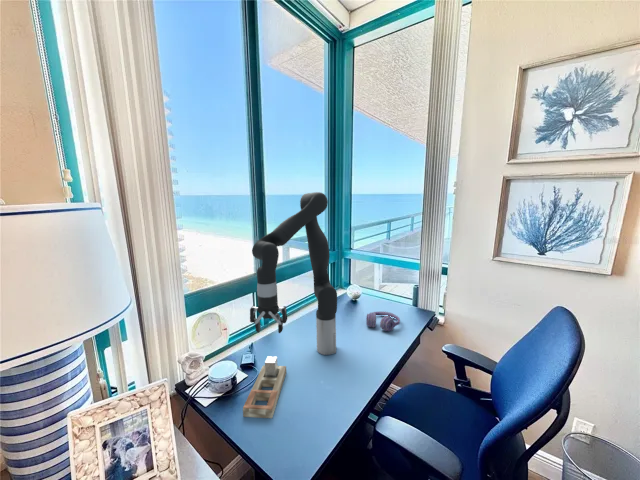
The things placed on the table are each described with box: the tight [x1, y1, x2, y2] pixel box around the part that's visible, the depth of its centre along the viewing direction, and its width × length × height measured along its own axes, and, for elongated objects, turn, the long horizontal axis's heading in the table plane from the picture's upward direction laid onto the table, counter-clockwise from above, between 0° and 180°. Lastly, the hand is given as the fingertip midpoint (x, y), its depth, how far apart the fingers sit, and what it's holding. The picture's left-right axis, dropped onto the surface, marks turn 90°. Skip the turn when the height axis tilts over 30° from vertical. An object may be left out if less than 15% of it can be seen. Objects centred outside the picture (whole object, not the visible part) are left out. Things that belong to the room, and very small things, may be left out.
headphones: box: [365, 311, 401, 332], centre depth 149 cm, size 18×8×20 cm
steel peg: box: [264, 355, 279, 378], centre depth 105 cm, size 4×4×9 cm
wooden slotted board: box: [242, 364, 287, 419], centre depth 98 cm, size 10×23×3 cm, turn 175°
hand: (269, 331), depth 102 cm, fingers open, 8 cm apart
